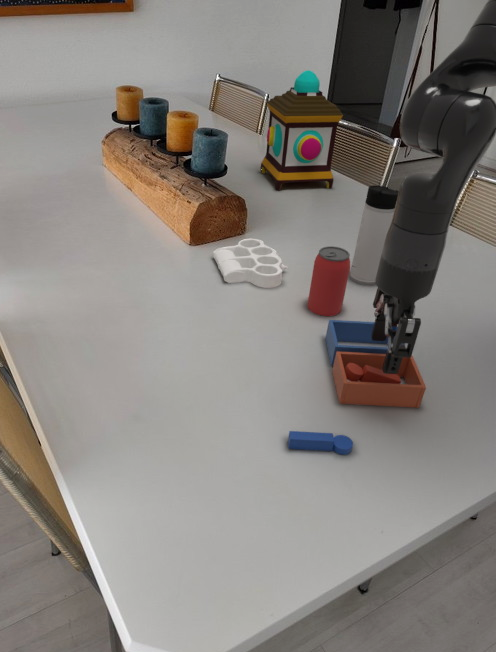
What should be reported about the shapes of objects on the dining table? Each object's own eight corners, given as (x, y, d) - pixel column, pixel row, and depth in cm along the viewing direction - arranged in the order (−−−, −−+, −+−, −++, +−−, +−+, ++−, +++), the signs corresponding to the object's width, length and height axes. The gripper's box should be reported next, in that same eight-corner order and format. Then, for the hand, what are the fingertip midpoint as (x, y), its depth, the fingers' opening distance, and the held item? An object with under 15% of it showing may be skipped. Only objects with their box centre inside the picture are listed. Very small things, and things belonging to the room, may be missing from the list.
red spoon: (390, 383, 87) (398, 372, 86) (394, 395, 85) (402, 384, 84) (341, 368, 85) (348, 356, 84) (344, 379, 83) (351, 367, 82)
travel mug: (342, 279, 116) (361, 185, 104) (360, 270, 120) (381, 179, 107) (366, 291, 112) (389, 195, 100) (384, 281, 116) (408, 188, 104)
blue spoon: (288, 454, 75) (290, 442, 73) (287, 440, 77) (289, 427, 75) (352, 458, 75) (355, 445, 73) (349, 443, 77) (352, 431, 75)
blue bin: (393, 344, 97) (399, 323, 94) (403, 372, 91) (410, 350, 88) (324, 340, 97) (328, 319, 94) (330, 368, 91) (335, 346, 88)
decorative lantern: (338, 192, 159) (358, 77, 141) (273, 194, 155) (285, 77, 137) (314, 170, 175) (329, 64, 156) (254, 172, 171) (263, 63, 152)
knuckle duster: (209, 254, 123) (271, 250, 126) (227, 293, 109) (296, 288, 112) (210, 240, 121) (272, 236, 124) (228, 278, 107) (298, 273, 110)
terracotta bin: (405, 377, 90) (412, 355, 87) (418, 410, 83) (426, 387, 80) (331, 373, 90) (336, 351, 87) (338, 406, 83) (343, 383, 80)
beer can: (299, 306, 106) (308, 249, 99) (324, 298, 109) (334, 242, 102) (323, 322, 102) (334, 263, 95) (348, 312, 105) (360, 255, 98)
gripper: (455, 283, 66) (420, 386, 76) (425, 235, 78) (397, 330, 88) (394, 280, 66) (366, 383, 76) (372, 233, 78) (351, 328, 88)
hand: (383, 355), depth 82 cm, fingers open, 8 cm apart
